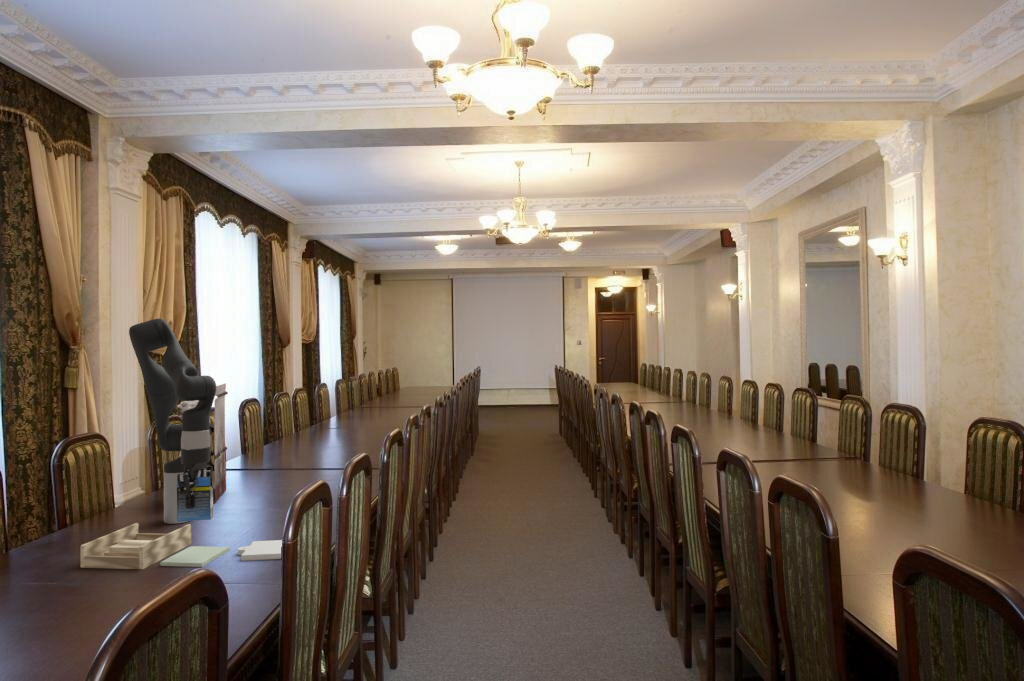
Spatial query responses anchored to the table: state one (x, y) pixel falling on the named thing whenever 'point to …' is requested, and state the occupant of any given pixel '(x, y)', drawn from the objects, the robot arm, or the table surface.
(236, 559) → the table surface
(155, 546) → the wooden tray
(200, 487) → the label tape cartridge
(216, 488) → the cherub statue
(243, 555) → the mounting plate
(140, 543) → the offcut stack
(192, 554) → the pad
